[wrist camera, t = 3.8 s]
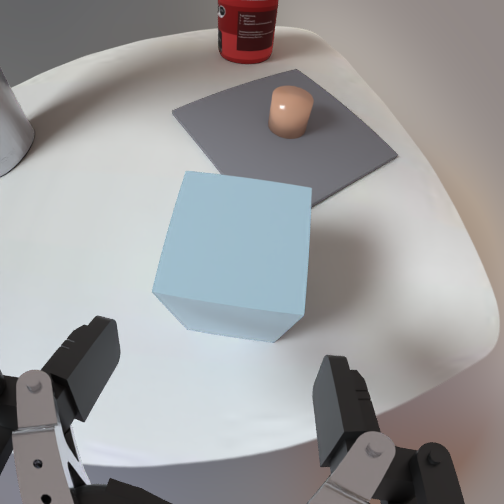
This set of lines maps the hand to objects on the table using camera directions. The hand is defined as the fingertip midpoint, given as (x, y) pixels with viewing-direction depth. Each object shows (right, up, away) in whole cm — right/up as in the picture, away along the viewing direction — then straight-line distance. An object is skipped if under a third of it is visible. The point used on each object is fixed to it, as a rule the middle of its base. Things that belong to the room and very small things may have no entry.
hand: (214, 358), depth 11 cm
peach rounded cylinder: (+5, +17, +19) cm, 26 cm away
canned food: (0, +33, +26) cm, 42 cm away
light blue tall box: (0, +1, +12) cm, 12 cm away
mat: (+5, +17, +19) cm, 26 cm away
